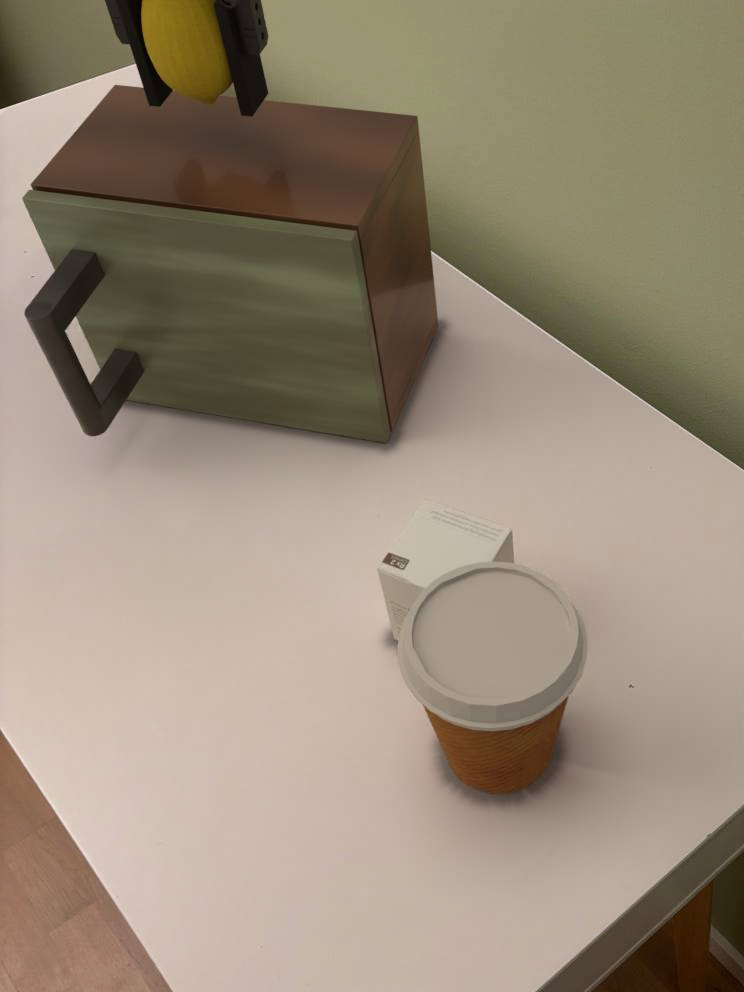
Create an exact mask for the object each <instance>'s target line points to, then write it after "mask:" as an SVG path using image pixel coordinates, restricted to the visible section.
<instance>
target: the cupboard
mask: <svg viewBox="0 0 744 992" xmlns="http://www.w3.org/2000/svg"><path fill="white" fill-rule="evenodd" d="M418 119H419V117H418V115H412V114H402V113H394V112H383V111H374V110H373V111H372V110H366V109H365V110H364V109H354V108H346V107H345V108H344V107H334V106H325V105H317V104H308V103H307V104H306V103H295V102H288V101H277V100H266V99H264V101H263V102H262V104H261V105H260V106H259V108H258V109H257V111H256V112H255V114H254V115H253V117H250V116H241V113H240V109H239V105H238V101H237V97H236V96H229V95H219V96H218V97H217V99H216V101H215V102H214V103H213V104H211V105H206V104H204V103H202V102H201V101H199V100H194V99H190V98H187V97H184V96H182V95H180V94H178V93H176V92H175V91H174V90H173V91H172V92H171V94H170V95H169V96H168V98H167V99H166V100H165V101H164V103H163V104H162V105H161V106H160V107H156V106H149V104H148V100H147V97H146V94H145V91H144V88H143V86H132V85H131V86H130V85H120V84H114V85H113V86H112V87H111V89H109V91H108V92H107V93H106V95H105V96H104V97H103V99H101V100H100V102H99V103H98V104H97V105H96V106H95V108H93V110H92V111H91V112H90V113H89V114H88V116H87V117H86V118H85V119H84V121H83V122H82V123H81V124H80V125H79V126H80V127H79V126H78V127H79V128H78V127H77V128H78V129H77V128H76V129H77V130H76V131H75V130H74V131H75V132H74V131H73V134H72V135H71V136H70V137H69V138H68V140H66V142H65V143H64V144H63V145H62V147H61V148H59V149H58V151H57V152H56V154H55V155H54V156H52V158H51V160H50V161H49V162H48V163H47V164H46V165H45V166H44V168H43V169H42V170H41V172H39V173H38V175H37V176H36V177H35V178H34V179H33V181H32V182H31V183H30V187H31V190H37V191H45V192H53V193H61V194H69V195H77V196H85V197H92V198H100V199H108V200H116V201H124V202H132V203H140V204H148V205H156V206H164V207H172V208H180V209H188V210H196V211H204V212H212V213H220V214H227V215H235V216H243V217H251V218H259V219H267V220H275V221H283V222H291V223H299V224H307V225H315V226H323V227H331V228H339V229H347V230H354V231H357V234H358V240H359V246H360V252H361V258H362V264H363V270H364V276H365V282H366V288H367V294H368V300H369V306H370V312H371V318H372V324H373V330H374V337H375V343H376V349H377V355H378V361H379V367H380V373H381V379H382V385H383V391H384V397H385V403H386V409H387V415H388V421H389V427H390V433H392V432H393V431H394V429H395V427H396V424H397V423H398V420H399V417H400V415H401V413H402V410H403V408H404V406H405V404H406V401H407V399H408V397H409V394H410V392H411V389H412V387H413V385H414V383H415V380H416V378H417V376H418V373H419V370H420V369H421V368H422V364H423V362H424V359H425V358H426V356H427V353H428V351H429V348H430V346H431V343H432V342H433V339H434V336H435V334H436V332H437V330H438V327H439V319H438V318H439V317H438V307H437V297H436V286H435V277H434V266H433V257H432V248H431V236H430V226H429V218H428V206H427V196H426V188H425V178H424V167H423V155H422V147H421V137H420V128H419V120H418Z"/></svg>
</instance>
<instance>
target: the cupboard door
mask: <svg viewBox="0 0 744 992" xmlns="http://www.w3.org/2000/svg"><path fill="white" fill-rule="evenodd" d="M21 200H22V203H23V205H24V207H25V208H26V211H27V213H28V215H29V217H30V219H31V223H32V224H33V227H34V228H35V230H36V233H37V235H38V237H39V239H40V241H41V243H42V246H43V248H44V250H45V253H46V254H47V257H48V259H49V262H50V263H51V266H52V268H53V270H54V271H53V272H52V273H51V275H50V277H49V278H47V280H46V282H45V283H44V284H43V286H42V287H41V288H40V290H39V291H38V292H37V293H36V294H35V296H34V297H33V298H32V300H31V301H30V303H29V304H28V305H27V306H26V307H25V309H24V313H23V315H24V317H25V320H26V321H27V323H28V325H29V327H30V329H31V332H32V334H33V335H34V337H35V340H36V341H37V343H38V345H39V348H40V350H41V351H42V353H43V355H44V358H45V359H46V361H47V363H48V365H49V367H50V369H51V371H52V373H53V375H54V377H55V378H56V380H57V382H58V385H59V386H60V388H61V390H62V392H63V394H64V396H65V398H66V400H67V402H68V404H69V407H70V408H71V410H72V412H73V414H74V417H75V418H76V420H77V423H78V424H79V426H80V428H81V430H82V432H83V434H85V435H86V436H88V437H98V436H101V435H103V434H104V433H105V432H107V430H108V429H109V428H110V426H111V425H112V423H113V421H114V420H115V418H116V416H117V415H118V414H119V412H120V411H121V409H122V408H123V406H124V404H125V403H126V401H131V402H136V403H137V402H138V403H144V404H150V405H156V406H162V407H168V408H174V409H180V410H185V411H186V410H187V411H191V412H197V413H204V414H210V415H216V416H223V417H228V418H233V419H241V420H245V421H252V422H258V423H263V424H264V423H265V424H271V425H277V426H284V427H288V428H295V429H301V430H307V431H313V432H320V433H325V434H331V435H336V436H337V435H338V436H342V437H343V436H344V437H350V438H356V439H363V440H368V441H374V442H379V443H385V444H386V443H388V440H389V438H390V436H391V433H392V432H390V427H389V421H388V415H387V409H386V403H385V397H384V391H383V385H382V379H381V373H380V367H379V361H378V355H377V349H376V343H375V337H374V330H373V324H372V318H371V312H370V306H369V300H368V294H367V288H366V282H365V276H364V270H363V264H362V258H361V252H360V246H359V240H358V234H357V231H354V230H347V229H339V228H331V227H323V226H315V225H307V224H299V223H291V222H283V221H275V220H267V219H259V218H251V217H243V216H235V215H227V214H220V213H212V212H204V211H196V210H188V209H180V208H172V207H164V206H156V205H148V204H140V203H132V202H124V201H116V200H108V199H100V198H92V197H85V196H77V195H69V194H61V193H53V192H45V191H37V190H33V189H28V190H27V191H26V193H24V195H23V196H22V198H21ZM75 318H76V320H77V322H78V325H79V326H80V329H81V330H82V333H83V335H84V337H85V340H86V342H87V344H88V347H89V348H90V350H91V353H92V355H93V357H94V359H95V361H96V364H97V365H98V368H99V371H98V372H97V374H96V375H95V377H94V379H92V381H91V383H90V380H89V378H88V377H87V374H86V372H85V369H84V368H83V365H82V363H81V361H80V359H79V357H78V355H77V352H76V351H75V349H74V347H73V344H72V342H71V340H70V338H69V336H68V334H67V332H66V331H67V329H68V328H69V326H70V325H71V323H72V322H73V321H74V319H75Z"/></svg>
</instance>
